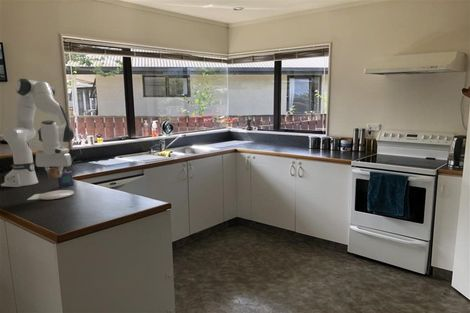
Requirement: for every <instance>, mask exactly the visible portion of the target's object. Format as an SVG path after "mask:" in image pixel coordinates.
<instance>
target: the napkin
mask: <svg viewBox="0 0 470 313" xmlns="http://www.w3.org/2000/svg"><path fill="white" fill-rule="evenodd" d="M41 194H42V193H34V194H33V195H32V196H29V198H27V199H26V200H27V201H33V200H35V201H36V200H41V199H40V198H39V195H41Z"/></svg>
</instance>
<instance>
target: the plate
mask: <svg viewBox="0 0 470 313" xmlns="http://www.w3.org/2000/svg"><path fill="white" fill-rule="evenodd" d="M40 194H41V195H39V198H40V199H39V200H55V199H56V200H57V199H62V198H63V199H64V198H67V197H70V196H73V195H74V194H75V192H74V190H73V189H62V190H60V189H59V190H54V191H47V192H44V193H40Z"/></svg>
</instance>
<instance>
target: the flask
mask: <svg viewBox="0 0 470 313" xmlns="http://www.w3.org/2000/svg"><path fill="white" fill-rule="evenodd" d="M57 182H58V187H59V189H61V188H67V187H71V186H74V180H73V171H72V170H70V171H67V169H63V171H62V176H61V177H58V178H57Z"/></svg>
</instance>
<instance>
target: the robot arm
mask: <svg viewBox="0 0 470 313" xmlns="http://www.w3.org/2000/svg"><path fill="white" fill-rule="evenodd" d="M15 91H16V93H17V94H18V95H19V96H18V98H17V103H16V106H15V110H14V117H15V118H16V124H15V125H12V126H8V127H7V128H5V129H4V130H3V132H2V138H3V140H4V141H5V142H7V144H8V146H9V148H10V150H11V152H12V159H13V164H11V165H10V168H12V169H11V170H10V171H9V172H8V173H7V174H6V175H4V182H3V183H1V184H0V186H1V187H10V188H11V187H12V188H19V187H24V186H31V185H35V184H38V183H39V180H38V177H37V174H36V170H35V166H36V167H37V168H41V167H42V168H44V170H45V171H46V173H47V174H48V171H47V169H51V168H60V169H59V171H58V174H62V173H63V171H64V167H70V166H71V165H72V164H73V162H72V156H71V154H70V153H69V152H70V149H69V148H68V147H65V146H63V145H61V143H70V142H71V141H72V140H73V139H75V131H74V129H73V126H72V125H71V122H70V121H69V119H68V116H67V114H66V111H65V110H64V107H63V105H62V104H61V103H59V102H58V101H56V100H55V94H56V89H55V87H54V86H53V85H52V84H50V83H48V82H46V81H38V80H34V79H28V78H20V79H18V80H17V81H16V84H15ZM36 110H38V111H41V113H46V114H50V115H54V116H57V118H58V119H59V120H60V124H61V125H57V122H56V121H55V120H43V121H42V122H40V127H39V129H38V130H36V129H35V126H34V124H35V123H34V122H35V120H34V119H35V114H36ZM37 133H38V140H39V141H40V142H41V143H42V144H41V145H42V146H41V147H42V149H41V150H40V149H39V150H36V152H35V162H34V159H33V158H34V157H33V150H32V149H31V148H30V147H29V145H28V142H29V141H31V140H33V139H34V138H35V137H36V134H37ZM50 167H51V168H50Z"/></svg>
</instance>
